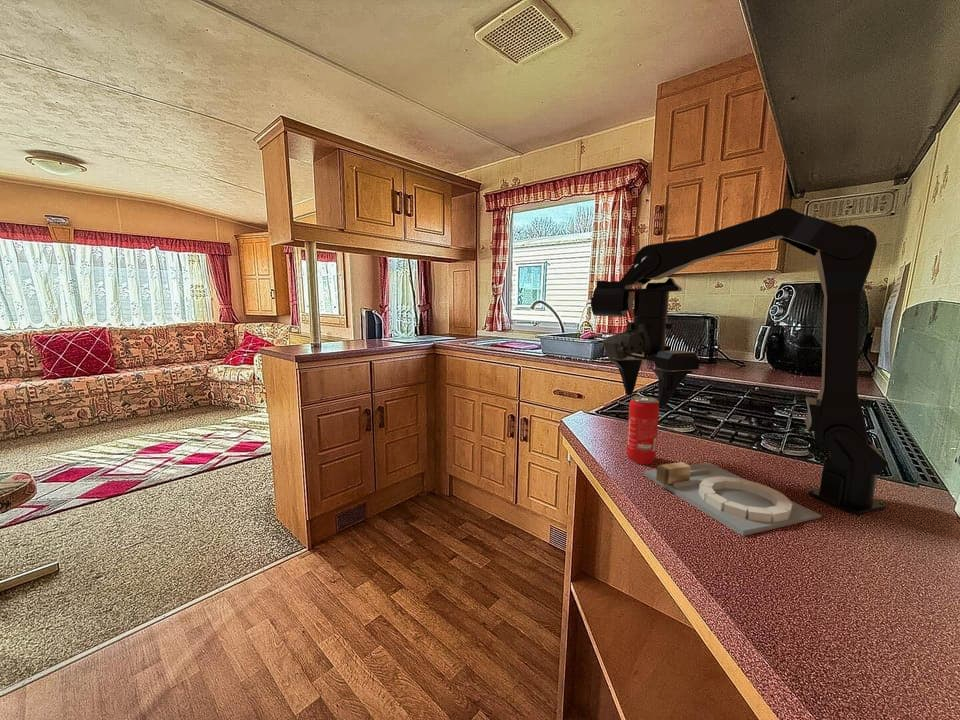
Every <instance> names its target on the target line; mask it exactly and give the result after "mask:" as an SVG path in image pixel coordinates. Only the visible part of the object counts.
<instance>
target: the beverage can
mask: <svg viewBox="0 0 960 720" xmlns="http://www.w3.org/2000/svg"><path fill="white" fill-rule="evenodd" d="M659 413H660V406H659V401H658V398H656V397H652V396H651V397H650V396H644V395H635V396H632V397H631V398H630V401H629V406H628V420H627V421H628V422H627V434H626V435H627V438H626V439H627V440H626V450H625V451H626V455H627V458H628V460H629V461H630V462H632V463H634V464H640V465H649V464H653V463H654V460H655V458H656V454H657V444H658V443H657V441H658V440H657V439H658V426H659V415H660V414H659Z"/></svg>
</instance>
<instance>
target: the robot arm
mask: <svg viewBox="0 0 960 720" xmlns="http://www.w3.org/2000/svg"><path fill="white" fill-rule="evenodd" d="M774 240H780V241H782V242H784V243H786V244H788V245H790V246H792V247H793V248H796V249H798V250H800V251H802V252H804V253H806V254H808V255H811V256H813V257H815V263H816V269H817V273H818V277H819V282H820V286H821V288H822V292H823V296H824V298H823V299H824V300H823V326H822V330H823V332H822V358H821V359H822V360H821V385H820V389H819V392H818V395H817V398H815V397H809V396H805V402H806V407H807V415H806V417H805V419H804V423H805V426H806V429H807V432H809V433H812V435H813V438H814V440H815V442H816V444H817V446H819V448H820V449H822V450H823V451H825V452H826V453H829V454H827V455H825V457H824V459H823V465H822V471H821V476H820V482H819V488H813V489H808V491H807V493H808V495H810V496H812V497H815V498H817V499H820V500H822V501H824V502H826V503H829V504H831V505H834V506H836V507H838V508H841V509H843V510H845V511H846V512H850V513H852V514H855V515H860V514H865V513H871V512H875V511H879V510H884V509H886V508H887V504H886V503H883V502H880V501H878V500H875V499H874V498H875V492H876V487H877V479H878V476H880V475H881V474H882V473H883V471H884V470H885V469H886V467H887V466H888V465H889V464H888V461H887V459H886V458H885V457H884V456H883V454H882V453H881V452H880V451H879V449H878V448H877V446H875V444H874V443H873V442H872V441H871V440H870V439H869V434H868V429H867V424H866V419H865V416H864V411H863V407H862V405H861V404H862V403H861V401H860V397H859V392H858V382H859V381H858V380H859V379H858V376H859V356H860V355H859V354H860V353H859V352H860V350H859V349H860V329H861V305H862V292H863V289H864V286H865V284H866V281H867V278H868V276H869V273H870V270H871V268H872V265H873V264H872V263H873V261H874V257H875V253H876V250H877V246H878V242H877V236H876V235H875V233H874V231H872V230H870V229H869V228H867V227H865V226H863V225H862V226H861V225H858V224H848V225H844V226H842V225H838V224H837V223H833V222H831V221H828V220H826V219H821V218H818V217H815V216H810V215H807V214H803V213H801V212H798V211H797V210H795V209H793V208H790V207H783V208H782V207H781V208H778V209H776V210H773V212H770V213H768V214H766V215H762V216H759V217H756V218H752V219H750V220H746V221H743V222H741V223H737V224H734V225H730V226H727V227H725V228H721V229H718V230H714V231H712V232H709V233H705V234H702V235H699V236H696V237H692V238H690V239H685V240H684V239H683V240H674V241H664V242H659V243H652V244H648V245H645V246H643V247H641V248H640V249H638V251H637V252H636V254H635V255H634V257H633V261H632V263H633V264H632V265H631V267H630V268H629V269H628V271H626V272H625V274H624V275H623V276H622V278H621V280H617V281H616V280H615V281H607V280H597V281H596V283H595V284H596V286H595V288H594V289H593V293H592V297H590V298H591V299H590V307H591V312H592V314H593V316H597V317H626V316H627V313H628V312H631V311H632V310H633V316H632V317H633V318H632V321H630V322H627V324H626V328H625V331H623V332H619V333H616V334H614V335H612V336H609V337H607V338H605V339H603V340H602V344H603V348H604V350H605V354H604V356H605V357H607V358H608V361H609V362H611V363H612V364H614V365H615V366H616V367H617V369H618V371H619V374H620V377H621V381H622V385H623V388H624V391H625V395H626V396H632V395H633V394H634V390H635V387H636V385H637V384H636V383H637V380H638V376H639V372H640V369H641V365H642V362H643V361H642V360H645V361H651V362H653V364H654V365H655V367H656V368H653V369H652V370H653V372H654V374H655V375H656V376H657V378H658V384H657V385H658V387H657V388H658V391H657V393H658V396H657V400H658V403H659V408H660V407H661V408H663V407H666V406H667V405H668V403H669V401H670V400H671V398H672V396H673V395H674V393H675V392H676V391H677V389H678V387H679V385H680V384H681V383H682V381H684V380H685V378H686V377H687V375H688V374H693V370H695V371H697V370H699V369H700V356H699V355H698V353H696V352H694V351H688V350H679V349H678V350H671V347H672V346H671V345H666V343H667V342H666V339H667V330H672V329H673V323H672V322H668V314H669V300H670V293H672V292H673V293H675V292H678V293H679V292H682V290H683V287H682V286H680V285H679V284H677V283H676V281H675V280H674V279H675V278H673V277H670V276H672V275H673V274H676V273H678V272H681V271H682V270H683V269H686V268H688V267H689V266H691V265H694V264H695V263H697V262H701V261H704V260H708V259H712V258H715V257H718V256H722V255H725V254H728V253H733V252H738V251H739V250H743V249H747V248H750V247H754V246H756V245H760V244H764V243H767V242H772V241H774ZM668 277H669V278H668ZM665 278H668V279H667V280H666V281H664V282H650V281H652V280H653V281H658V280H659V281H660V280H663V279H665ZM644 285H646V286H645V288H633V287H640V286H641V287H643V286H644Z"/></svg>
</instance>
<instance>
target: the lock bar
mask: <svg viewBox="0 0 960 720" xmlns="http://www.w3.org/2000/svg"><path fill="white" fill-rule="evenodd" d="M689 465H690V464H687V463H686V462H684V461H680V462H673V463H664V464H658V465H656V469H657V475H656V480H657V481H659V482H661V483H662V484H664V485H665V484H672V483H676V482H683V481H689V480H690V469H691V466H689Z"/></svg>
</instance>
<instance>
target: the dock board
mask: <svg viewBox="0 0 960 720" xmlns="http://www.w3.org/2000/svg"><path fill="white" fill-rule="evenodd" d="M688 465H689V466H691V469H690V480H689V481H683V482H676V483H672V484H665V485H664V484H662V483H661V482H659V481H657V480H656V475H657V468H654V469H646V470H643V476H644V477H646V478H648V479H649V480H651V481H652V482H654V483H656V484H658V485H659V486H661V487H662V488H664V489H665V490H667V491H669V492H671V493H672V494H673V495H675V496H677V497H678V498H680V499H682V500H683V501H685V502H687V503H688V504H690V505H691V506H693V507H695V508H696V509H698V510H699V511H701V512H703V513H705V514H706V515H708V516H709V517H711V519H712V518H713V519H714V520H715V521H717V522H719V523H720V524H722V525H724V526H725V527H727V528H729V529H730V530H731V531H734V532H735V533H736V534H738V535H740V536H742V537H745V536H748V535H753V534H754V535H755V534H756V533H757V534H758V533H761V532H766V531H770V530H774V529H779V528H782V527H786V526H792V525H795V524H800V523H803V522H804V523H805V522H808V521H812V520H816V519H820V518H822V514H821V513H820V514H819V513H818V512H816V511H814V510H811V509H809V508H807V507H805V506H803V505H801V504H799V503H797V502H794V501H792V500H790V499H789V498H788V497H787V496H786V495H785V494H783V493H781V491H778V490H776V489H774V488H771V487H769V486H767V485H765V484H762V483H758V482H755V481H753V480H752V481H751V480H748V479H745V478H743V477H740V476H738V475H737V474H734V473H732V472H730V471H728V470H726V469H723V468H721V467H720V466H717V465H716V464H713V463H711V462H707V461H706V462H699V463H691V464H688Z"/></svg>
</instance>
